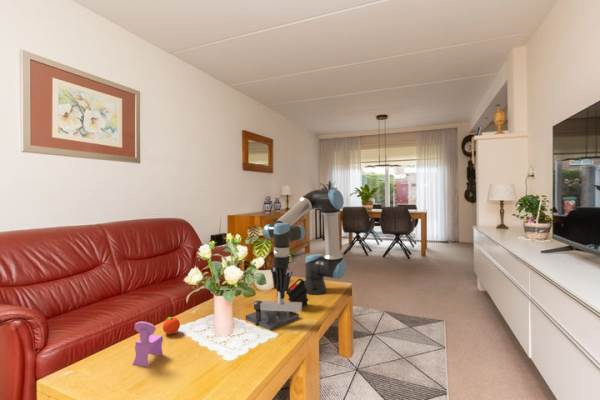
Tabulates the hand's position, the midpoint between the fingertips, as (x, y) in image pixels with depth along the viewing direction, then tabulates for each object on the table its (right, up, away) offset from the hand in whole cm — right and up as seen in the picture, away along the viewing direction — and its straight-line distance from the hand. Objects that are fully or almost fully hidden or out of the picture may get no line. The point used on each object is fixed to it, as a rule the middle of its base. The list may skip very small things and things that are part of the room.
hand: (280, 304), depth 144 cm
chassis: (-4, -8, +4) cm, 10 cm away
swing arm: (-1, -1, -3) cm, 4 cm away
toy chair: (-47, -9, -33) cm, 58 cm away
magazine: (+8, -9, +19) cm, 22 cm away
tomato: (-48, -9, -12) cm, 50 cm away
